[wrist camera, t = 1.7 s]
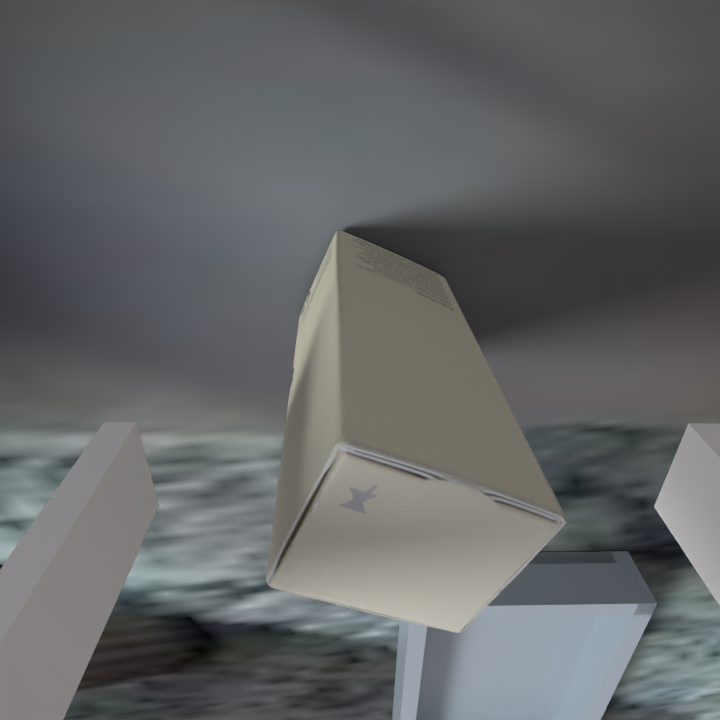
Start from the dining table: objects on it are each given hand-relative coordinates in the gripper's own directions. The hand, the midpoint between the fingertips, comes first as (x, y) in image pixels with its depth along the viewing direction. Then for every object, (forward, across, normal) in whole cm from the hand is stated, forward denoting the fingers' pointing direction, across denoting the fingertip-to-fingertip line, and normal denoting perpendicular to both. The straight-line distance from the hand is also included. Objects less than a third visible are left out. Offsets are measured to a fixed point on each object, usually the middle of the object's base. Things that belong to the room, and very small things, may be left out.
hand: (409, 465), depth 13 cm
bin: (+10, +8, -26) cm, 29 cm away
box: (+10, -1, 0) cm, 10 cm away
